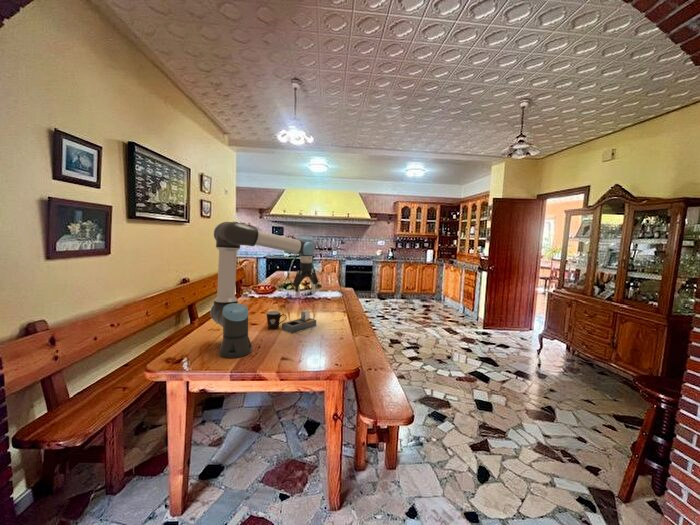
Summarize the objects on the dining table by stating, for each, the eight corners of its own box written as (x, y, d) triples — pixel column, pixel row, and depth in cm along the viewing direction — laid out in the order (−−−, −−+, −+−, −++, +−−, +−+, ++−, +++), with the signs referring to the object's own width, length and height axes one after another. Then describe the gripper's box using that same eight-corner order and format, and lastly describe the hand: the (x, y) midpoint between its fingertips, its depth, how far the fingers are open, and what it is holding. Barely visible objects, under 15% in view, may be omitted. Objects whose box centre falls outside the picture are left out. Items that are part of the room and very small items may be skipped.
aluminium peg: (305, 327, 187) (305, 312, 186) (300, 326, 189) (301, 311, 188) (309, 326, 190) (309, 311, 189) (305, 324, 192) (305, 309, 191)
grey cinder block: (292, 333, 175) (292, 326, 174) (281, 329, 181) (281, 322, 181) (316, 326, 190) (316, 319, 190) (305, 322, 197) (305, 316, 196)
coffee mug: (263, 329, 181) (263, 313, 180) (271, 325, 189) (271, 310, 188) (280, 331, 178) (280, 315, 177) (287, 327, 186) (287, 312, 185)
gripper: (295, 264, 174) (294, 299, 176) (324, 261, 193) (323, 293, 195) (287, 262, 178) (286, 297, 180) (316, 261, 198) (315, 291, 200)
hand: (305, 295), depth 188 cm, fingers open, 13 cm apart
